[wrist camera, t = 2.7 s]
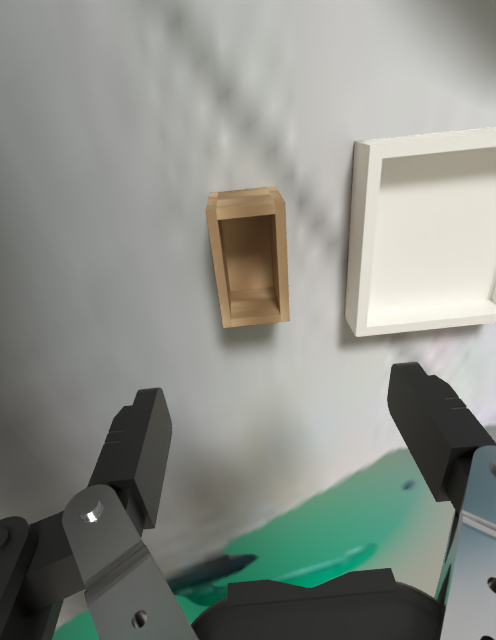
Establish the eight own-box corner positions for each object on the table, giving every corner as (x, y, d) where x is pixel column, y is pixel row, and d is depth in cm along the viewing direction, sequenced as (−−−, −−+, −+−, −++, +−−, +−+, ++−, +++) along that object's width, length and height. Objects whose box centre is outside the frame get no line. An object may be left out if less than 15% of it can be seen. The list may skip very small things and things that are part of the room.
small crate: (223, 295, 29) (223, 327, 25) (209, 193, 25) (205, 210, 21) (280, 289, 29) (289, 321, 25) (275, 186, 25) (285, 202, 20)
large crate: (344, 317, 31) (355, 336, 28) (354, 141, 24) (370, 145, 21) (491, 302, 30) (516, 320, 28) (544, 121, 24) (583, 122, 21)
